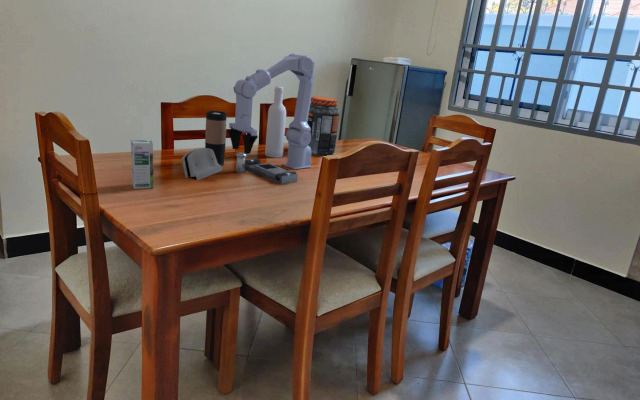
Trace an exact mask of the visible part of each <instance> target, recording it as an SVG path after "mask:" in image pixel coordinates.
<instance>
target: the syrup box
mask: <svg viewBox="0 0 640 400" xmlns="http://www.w3.org/2000/svg"><path fill="white" fill-rule="evenodd" d="M130 151H131V152H130V153H131V157H130V158H131V179H132V180H131V183H132V186H133V189H134V190H137V189H139V190H141V189H154V187H155V185H154V184H155V183H154V143H153V141H152V139H133V138H132V139H130Z"/></svg>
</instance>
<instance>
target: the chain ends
mask: <svg viewBox="0 0 640 400" xmlns="http://www.w3.org/2000/svg"><path fill="white" fill-rule="evenodd" d="M245 170H247V171H250V172H252V173H254V174H257V175H259V176H261V177H264V178H266V179H267V180H271V181H272V182H276V184H279V185H288V184H293V183H297V182H298V175H299V174H297V172H296V171H289V170H287V169H285V168H282V167H280V166H277V165H275V164H272V163H267V162H266V163H261V160H260V159H259V158H252V159H251V158H249V159H245Z"/></svg>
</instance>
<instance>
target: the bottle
mask: <svg viewBox="0 0 640 400" xmlns="http://www.w3.org/2000/svg"><path fill="white" fill-rule="evenodd" d="M273 91H274V94H273V95H274V97H273V98H274V99H273V103H272V104H271V105H270V106H269V108H268V111H267V123H266V124H267V125H266V135H265V137H266V138H265V149H264V152H265V153H264V156H265V157H268V158H275V159H279V158H283V156H284V155H283V154H284V143H285V135H286V122H287V121H286V119H287V108H286V106H285V105H284V104H283V97H284V92H285V91H284V86H274V90H273Z"/></svg>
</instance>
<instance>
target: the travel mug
mask: <svg viewBox="0 0 640 400" xmlns="http://www.w3.org/2000/svg"><path fill="white" fill-rule="evenodd" d="M227 115H228V114H227V113H226V112H224V111H219V110H207V111H206V112H205V117H206V118H205V134H204V135H205V136H204V137H205V138H204V139H205V140H204V148H209V149H212V150H213V151H214V154H215V157H216V160H217V163H218V164H219V165H221V167H222V166H224V164H225V157H226V156H225V155H226V154H225V153H226V145H227V144H226V140H227V139H226V138H227Z"/></svg>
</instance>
